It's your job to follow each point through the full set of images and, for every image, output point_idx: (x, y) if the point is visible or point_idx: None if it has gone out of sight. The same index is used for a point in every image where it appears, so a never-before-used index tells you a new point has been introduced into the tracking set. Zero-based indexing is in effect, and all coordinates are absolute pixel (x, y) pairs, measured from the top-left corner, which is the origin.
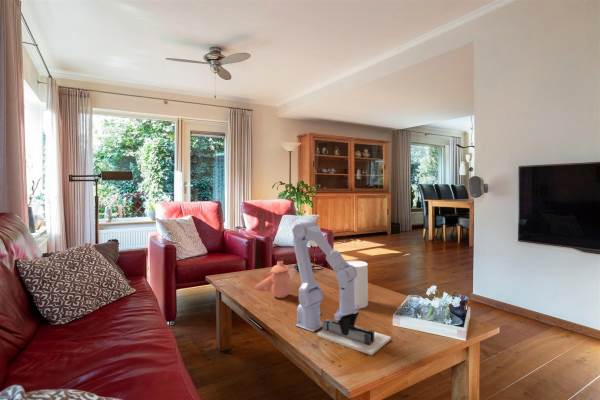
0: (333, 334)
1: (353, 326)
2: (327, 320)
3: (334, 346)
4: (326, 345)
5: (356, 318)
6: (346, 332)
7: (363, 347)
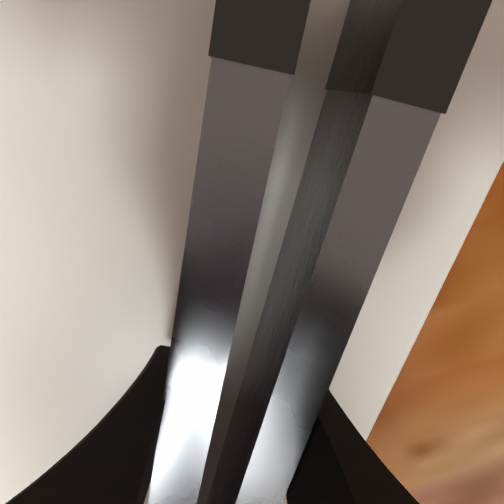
0: None
1: (186, 391)
2: None
3: (445, 383)
4: (443, 438)
5: (31, 487)
6: (333, 402)
7: (482, 84)
